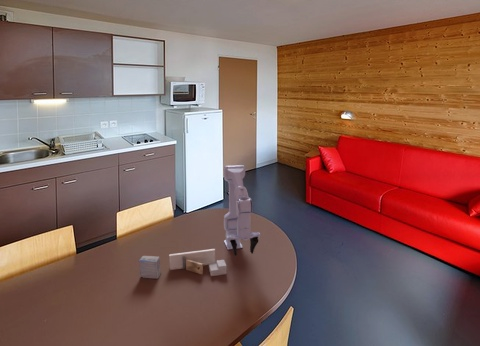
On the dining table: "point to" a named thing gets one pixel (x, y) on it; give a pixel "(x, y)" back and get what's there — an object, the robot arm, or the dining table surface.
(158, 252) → the dining table surface
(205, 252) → the wall shelf
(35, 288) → the dining table surface
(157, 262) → the medicine box
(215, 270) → the pale grey notched block
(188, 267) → the door
